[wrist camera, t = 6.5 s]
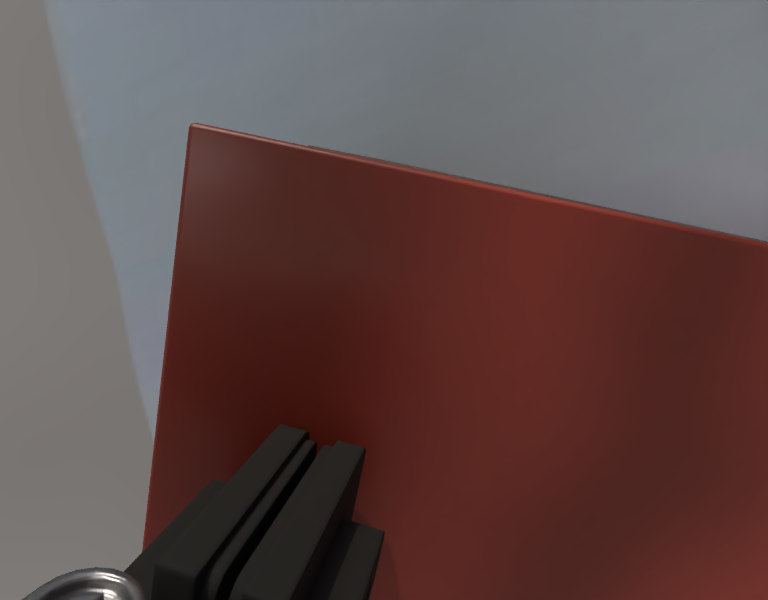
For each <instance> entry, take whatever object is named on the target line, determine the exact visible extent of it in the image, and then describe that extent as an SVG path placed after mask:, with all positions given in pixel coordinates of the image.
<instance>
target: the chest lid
mask: <svg viewBox="0 0 768 600" xmlns="http://www.w3.org/2000/svg"><path fill="white" fill-rule="evenodd" d="M280 424H283V425H287V426H290V427H294V428H297V429H301V430H304V431H308V432H309V435H310V438H309V440H311V441H314V442H317V452H316V456H317V455H318V453H319V452H320V450H321V449H322V447H323V446H324V445H328V446H331V447H333V446H334V444H335V443H336V442H337V440H339V441H342V442H346V443H349V444H353V445H356V446H360V447H363V448H366V454H365V459H364V464H363V469H362V474H361V478H360V483H359V488H358V493H357V497H356V502H355V507H354V511H353V516H352V521H353V522H357V523H360V524H363V525H366V526H370V527H373V528H376V529H379V530H382V531H385V535H384V540H383V545H382V549H381V554H380V558H379V562H378V567H377V571H376V575H375V579H374V583H373V587H372V591H371V594H370V598H369V600H768V243H763V242H758V241H753V240H749V239H744V238H739V237H734V236H730V235H725V234H720V233H715V232H711V231H706V230H701V229H697V228H692V227H687V226H682V225H678V224H673V223H668V222H663V221H659V220H654V219H649V218H644V217H640V216H635V215H630V214H626V213H621V212H616V211H611V210H607V209H602V208H597V207H592V206H588V205H583V204H578V203H573V202H569V201H564V200H559V199H555V198H550V197H545V196H540V195H536V194H531V193H526V192H521V191H517V190H512V189H507V188H502V187H498V186H493V185H488V184H483V183H479V182H474V181H469V180H465V179H460V178H455V177H450V176H446V175H441V174H436V173H431V172H427V171H422V170H417V169H412V168H408V167H403V166H398V165H394V164H389V163H384V162H379V161H375V160H370V159H365V158H360V157H356V156H351V155H346V154H341V153H337V152H332V151H327V150H323V149H318V148H313V147H308V146H304V145H299V144H294V143H289V142H285V141H280V140H275V139H270V138H266V137H261V136H256V135H251V134H247V133H242V132H237V131H233V130H228V129H223V128H218V127H214V126H209V125H204V124H198V123H192V124H191V125H190V127H189V132H188V141H187V150H186V159H185V168H184V178H183V187H182V196H181V205H180V214H179V223H178V232H177V241H176V250H175V259H174V268H173V277H172V286H171V295H170V305H169V314H168V323H167V332H166V341H165V350H164V359H163V368H162V377H161V386H160V395H159V404H158V413H157V422H156V432H155V441H154V450H153V459H152V468H151V477H150V486H149V495H148V504H147V513H146V523H145V532H144V541H143V550H142V552H143V551H144V550H145V549H146V548H147V547H148V546H149V545H150V544H151V543H152V542H153V541H154V540H155V539H156V538H157V537H158V536H159V534H160V533H161V532H162V531H163V530H164V529H165V528H166V527H167V526H168V525H169V524H170V523H171V522H172V521H173V520H174V519H175V518H176V517H177V516H178V515H179V514H180V513H181V512H182V510H183V509H184V508H185V507H186V506H187V505H188V504H189V503H190V502H191V501H192V500H193V499H194V498H195V497H196V496H197V495H198V494H199V493H200V492H201V491H202V490H203V489H204V488H205V486H206V485H207V484H209V483H210V482H211V481H212V480H216V479H218V480H221V481H224V482H228V481H229V480H230V479H231V478H232V477H233V476H234V475H235V474H236V472H237V471H238V470H239V469H240V468H241V467H242V466H243V465H244V463H245V462H246V461H247V460H248V459H249V458H250V457H251V456H252V455H253V453H254V452H255V451H256V450H257V449H258V448H259V447H260V446H261V445H262V443H263V442H264V441H265V440H266V439H267V438H268V437H269V436H270V435H271V433H272V432H273V431H274V430H275V429H276V428H277V427H278V426H279V425H280Z"/></svg>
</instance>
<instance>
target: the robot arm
mask: <svg viewBox="0 0 768 600" xmlns="http://www.w3.org/2000/svg"><path fill="white" fill-rule="evenodd" d="M309 438H310V435H309V432H308V431H304V430H301V429H297V428H294V427H290V426H287V425H283V424H280V425H279V426H278V427H277V428H276V429H275V430H274V431H273V432H272V433H271V435H270V436H269V437H268V438H267V439H266V440H265V441H264V442H263V443H262V445H261V446H260V447H259V448H258V449H257V450H256V451H255V452H254V453H253V455H252V456H251V457H250V458H249V459H248V460H247V461H246V462H245V463H244V465H243V466H242V467H241V468H240V469H239V470H238V471H237V472H236V474H235V475H234V476H233V477H232V478H231V479H230V480H229V481H228V482H224V481H221V480H218V479H216V480H212V481H211V482H210V483H209V484H207V485H206V486H205V488H204V489H203V490H202V491H201V492H200V493H199V494H198V495H197V496H196V497H195V498H194V499H193V500H192V501H191V502H190V503H189V504H188V505H187V506H186V507H185V508H184V509H183V510H182V512H181V513H180V514H179V515H178V516H177V517H176V518H175V519H174V520H173V521H172V522H171V523H170V524H169V525H168V526H167V527H166V528H165V529H164V530H163V531H162V532H161V533H160V534H159V536H158V537H157V538H156V539H155V540H154V541H153V542H152V543H151V544H150V545H149V546H148V547H147V548H146V549H145V550H144V551H143V552H142V553H141V554H140V555H139V557H138V558H137V559H136V560H135V561H134V562H133V563H132V564H131V565H130V566H129V567H128V568H127V569H126V570H125V571H124V572H122V571H119V570H116V569H111V568H98V567H95V568H87V569H81V570H76V571H72V572H69V573H66V574H64V575H60V576H58V577H56V578H54V579H52V580H51V581H49V582H47V583H45V584H44V585H42V586H40V587H39V588H37V589H36V590H34V591H33V592H32V593H30V594H29V595H27V596H26V597H25V598H23V599H22V600H369V598H370V594H371V591H372V587H373V583H374V579H375V575H376V571H377V567H378V562H379V558H380V554H381V549H382V545H383V540H384V535H385V531H382V530H379V529H376V528H373V527H370V526H366V525H363V524H360V523H357V522H353V521H352V516H353V511H354V507H355V502H356V497H357V493H358V488H359V483H360V478H361V474H362V469H363V464H364V459H365V454H366V448H363V447H360V446H356V445H353V444H349V443H346V442H342V441H339V440H337V442H336V443H335V444H334V446H333V447H331V446H328V445H324V446H323V447H322V449H321V450H320V452H319V453H318V455H317V456H316V452H317V442H314V441H311V440H309Z"/></svg>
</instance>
